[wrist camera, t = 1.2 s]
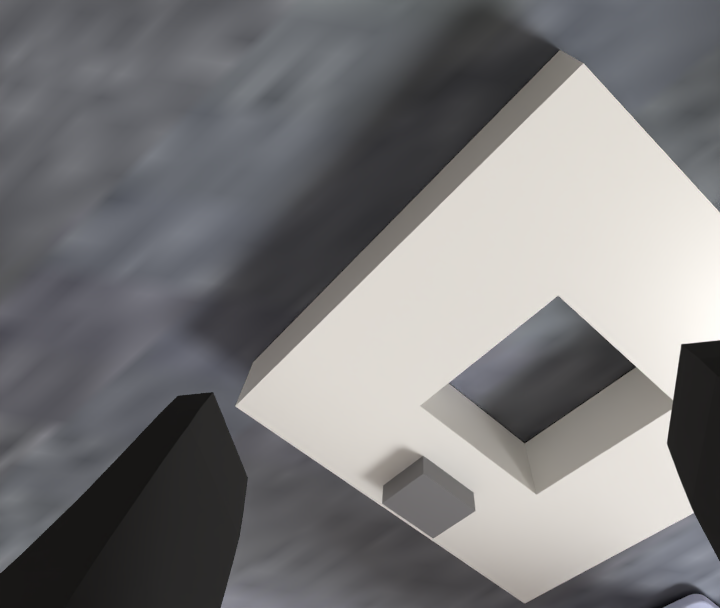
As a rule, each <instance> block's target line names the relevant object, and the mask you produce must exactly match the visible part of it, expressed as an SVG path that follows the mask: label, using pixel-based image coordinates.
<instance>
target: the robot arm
mask: <svg viewBox="0 0 720 608" xmlns="http://www.w3.org/2000/svg"><path fill="white" fill-rule="evenodd" d="M667 446H668V448H669V451H670V454H671V457H672V459H673V462H674V465H675V467H676V470H677V473H678V475H679V478H680V481H681V483H682V486H683V488H684V491H685V493H686V496H687V498H688V500H689V503H690V505H691V508H692V510H693V512H694V513H695V515H696V517H697V519H698V521H699V523H700V525H701V527H702V529H703V531H704V533H705V534H706V536H707V538H708V540H709V542H710V544H711V546H712V548H713V549H714V551H715V553H716V555H717V557H718V559H719V561H720V340H717V341H707V342H698V343H688V344H681V349H680V356H679V363H678V370H677V377H676V383H675V390H674V397H673V404H672V411H671V418H670V425H669V431H668V438H667ZM247 479H248V477H247V475H246V472H245V470H244V467H243V465H242V462H241V460H240V458H239V455H238V453H237V450H236V448H235V445H234V443H233V440H232V438H231V435H230V433H229V430H228V428H227V425H226V423H225V420H224V418H223V415H222V413H221V411H220V408H219V406H218V403H217V401H216V398H215V396H214V393H213V392H211V393H201V394H192V395H182V396H177V397H176V398H175V399H174V400H173V401H172V402H171V403H170V404H169V405H168V406H167V407H166V408H165V409H164V410H163V411H162V412H161V413H160V414H159V415H158V416H157V417H156V418H155V419H154V420H153V422H152V423H151V424H150V425H149V426H148V427H147V428H146V429H145V430H144V431H143V432H142V433H141V434H140V435H139V436H138V437H137V438H136V440H135V441H134V442H133V443H132V444H131V445H130V446H129V447H128V448H127V449H126V450H125V451H124V452H123V453H122V454H121V455H120V456H119V457H118V459H117V460H116V461H115V462H114V463H113V464H112V465H111V466H110V467H109V468H108V469H107V470H106V471H105V472H104V473H103V474H102V475H101V476H100V477H99V478H98V479H97V480H96V481H95V482H94V483H93V485H92V486H91V487H90V488H89V489H88V490H87V491H86V492H85V493H84V494H83V495H82V496H81V497H80V498H79V499H78V500H77V501H76V502H75V503H74V504H73V505H72V506H71V507H70V508H69V509H68V510H67V511H66V512H65V513H64V514H63V515H61V516H60V517H59V518H58V519H57V520H56V521H55V522H54V523H53V524H52V525H51V526H50V527H49V528H48V529H47V530H46V531H45V532H44V533H43V534H42V535H41V536H40V537H39V538H38V539H37V540H36V541H35V542H34V543H33V544H32V545H30V546H29V547H28V548H27V549H26V550H25V551H24V552H23V553H22V554H21V555H20V556H19V557H18V558H17V559H16V560H15V561H14V562H13V563H11V564H10V565H9V566H8V567H7V568H6V569H5V570H4V571H3V572H2V573H0V608H221V604H222V601H223V597H224V593H225V590H226V586H227V582H228V579H229V575H230V571H231V567H232V564H233V560H234V556H235V552H236V548H237V544H238V540H239V536H240V530H241V523H242V517H243V511H244V503H245V495H246V487H247ZM663 608H719V607H718V606H717V605H716V604H714V603H713V602H712V601H710V600H709V599H708V598H707V597H705V596H703V595H701V594H691V595H688V596H686V597H684V598H682V599H680V600H678V601H676V602H674V603H671V604H669V605H667V606H665V607H663Z"/></svg>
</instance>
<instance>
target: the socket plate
mask: <svg viewBox="0 0 720 608" xmlns="http://www.w3.org/2000/svg"><path fill="white" fill-rule="evenodd" d="M557 296H559V297H560V298H562V299H563V300H564V301H565V302H566V303H567V304H568V305H569V306H570V307H571V308H572V309H574V310H575V311H576V312H577V313H578V314H579V315H580V316H581V317H582V318H583V319H585V320H586V321H587V322H588V323H589V324H590V325H591V326H592V327H593V328H594V329H595V330H597V331H598V332H599V333H600V334H601V335H602V336H603V337H604V338H605V339H606V340H607V341H609V342H610V343H611V344H612V345H613V346H614V347H615V348H616V349H617V350H618V351H620V352H621V353H622V354H623V355H624V356H625V357H626V358H627V359H628V360H629V361H630V362H632V363H633V364H634V365H635V366H636V368H634V369H633V370H631V371H630V372H628V373H627V374H625V375H624V376H622V377H621V378H620V379H618V380H617V381H615V382H614V383H612V384H611V385H609V386H608V387H606V388H605V389H604V390H602V391H601V392H599V393H598V394H596V395H595V396H593V397H592V398H590V399H589V400H587V401H586V402H585V403H583V404H582V405H580V406H579V407H577V408H576V409H574V410H573V411H571V412H570V413H569V414H567V415H566V416H564V417H563V418H561V419H560V420H558V421H557V422H555V423H554V424H552V425H551V426H550V427H548V428H547V429H545V430H544V431H542V432H541V433H539V434H538V435H536V436H535V437H533V438H532V439H531V440H529V441H528V442H526V443H523V442H522V441H521V440H520V439H518V438H517V437H516V436H515V435H513V434H512V433H511V432H509V431H508V430H507V429H506V428H504V427H503V426H502V425H501V424H499V423H498V422H497V421H496V420H494V419H493V418H492V417H491V416H489V415H488V414H487V413H485V412H484V411H483V410H482V409H480V408H479V407H478V406H477V405H475V404H474V403H473V402H472V401H470V400H469V399H468V398H467V397H465V396H464V395H463V394H461V393H460V392H459V391H458V390H456V389H455V388H454V387H453V386H451V385H450V384H449V382H450V381H452V380H453V379H454V378H455V377H457V376H458V375H459V374H460V373H462V372H463V371H464V370H465V369H467V368H468V367H469V366H470V365H472V364H473V363H474V362H475V361H477V360H478V359H479V358H480V357H482V356H483V355H484V354H485V353H487V352H488V351H489V350H490V349H492V348H493V347H494V346H495V345H497V344H498V343H499V342H500V341H502V340H503V339H504V338H505V337H507V336H508V335H509V334H510V333H512V332H513V331H514V330H515V329H517V328H518V327H519V326H520V325H522V324H523V323H524V322H525V321H527V320H528V319H529V318H530V317H532V316H533V315H534V314H536V313H537V312H538V311H539V310H541V309H542V308H543V307H544V306H546V305H547V304H548V303H549V302H551V301H552V300H553V299H554V298H556V297H557ZM717 340H720V212H719V211H718V210H717V209H716V208H715V207H714V206H713V205H712V204H711V203H710V201H709V200H708V199H707V198H706V197H705V196H704V195H703V194H702V193H701V192H700V190H699V189H698V188H697V187H696V186H695V185H694V184H693V183H692V182H691V181H690V180H689V178H688V177H687V176H686V175H685V174H684V173H683V172H682V171H681V170H680V169H679V167H678V166H677V165H676V164H675V163H674V162H673V161H672V160H671V159H670V158H669V157H668V155H667V154H666V153H665V152H664V151H663V150H662V149H661V148H660V147H659V146H658V144H657V143H656V142H655V141H654V140H653V139H652V138H651V137H650V136H649V135H648V134H647V132H646V131H645V130H644V129H643V128H642V127H641V126H640V125H639V124H638V123H637V121H636V120H635V119H634V118H633V117H632V116H631V115H630V114H629V113H628V112H627V110H626V109H625V108H624V107H623V106H622V105H621V104H620V103H619V102H618V101H617V100H616V98H615V97H614V96H613V95H612V94H611V93H610V92H609V91H608V90H607V89H606V87H605V86H604V85H603V84H602V83H601V82H600V81H599V80H598V79H597V78H596V77H595V75H594V74H593V73H592V72H591V71H590V70H589V69H588V68H587V67H586V66H585V64H584V63H582V62H580V61H579V60H577V59H575V58H573V57H571V56H570V55H568V54H566V53H564V52H563V51H561V50H559V51H558V53H557V54H556V55H555V56H554V57H553V58H552V59H551V60H550V61H549V62H548V63H547V64H546V65H545V66H544V67H543V68H542V69H541V70H540V71H539V72H538V73H537V74H536V75H535V76H534V77H533V78H532V79H531V80H530V81H529V82H528V83H527V84H526V85H525V86H524V87H523V88H522V89H521V90H520V91H519V92H518V93H517V94H516V95H515V96H514V97H513V98H512V99H511V100H510V101H509V102H508V103H507V104H506V105H505V106H504V107H503V108H502V109H501V110H500V112H499V113H498V114H497V115H496V116H495V117H494V118H493V119H492V120H491V121H490V122H489V123H488V124H487V125H486V126H485V127H484V128H483V129H482V130H481V131H480V132H479V133H478V134H477V135H476V136H475V137H474V138H473V139H472V140H471V141H470V142H469V143H468V144H467V145H466V146H465V147H464V148H463V149H462V150H461V151H460V152H459V153H458V154H457V155H456V156H455V157H454V158H453V159H452V160H451V161H450V162H449V163H448V164H447V165H446V166H445V167H444V168H443V170H442V171H441V172H440V173H439V174H438V175H437V176H436V177H435V178H434V179H433V180H432V181H431V182H430V183H429V184H428V185H427V186H426V187H425V188H424V189H423V190H422V191H421V192H420V193H419V194H418V195H417V196H416V197H415V198H414V199H413V200H412V201H411V202H410V203H409V204H408V205H407V206H406V207H405V208H404V209H403V210H402V211H401V212H400V213H399V214H398V215H397V216H396V217H395V218H394V219H393V220H392V221H391V222H390V223H389V224H388V225H387V226H386V227H385V229H384V230H383V231H382V232H381V233H380V234H379V235H378V236H377V237H376V238H375V239H374V240H373V241H372V242H371V243H370V244H369V245H368V246H367V247H366V248H365V249H364V250H363V251H362V252H361V253H360V254H359V255H358V256H357V257H356V258H355V259H354V260H353V261H352V262H351V263H350V264H349V265H348V266H347V267H346V268H345V269H344V270H343V271H342V272H341V273H340V274H339V275H338V276H337V277H336V278H335V279H334V280H333V281H332V282H331V283H330V284H329V285H328V286H327V288H326V289H325V290H324V291H323V292H322V293H321V294H320V295H319V296H318V297H317V298H316V299H315V300H314V301H313V302H312V303H311V304H310V305H309V306H308V307H307V308H306V309H305V310H304V311H303V312H302V313H301V314H300V315H299V316H298V317H297V318H296V319H295V320H294V321H293V322H292V323H291V324H290V325H289V326H288V327H287V328H286V329H285V330H284V331H283V332H282V333H281V334H280V335H279V336H278V337H277V338H276V339H275V340H274V341H273V342H272V343H271V344H270V346H269V347H268V348H267V349H266V350H265V351H264V352H263V353H262V354H261V355H260V356H259V357H258V358H257V359H256V360H255V361H254V362H253V364H252V367H251V369H250V371H249V374H248V376H247V379H246V381H245V384H244V386H243V388H242V391H241V393H240V396H239V398H238V401H237V403H236V405H235V406H236V407H237V408H239V409H240V410H241V411H243V412H244V413H246V414H247V415H249V416H250V417H252V418H253V419H255V420H256V421H258V422H259V423H261V424H262V425H263V426H265V427H266V428H268V429H269V430H271V431H272V432H274V433H275V434H277V435H278V436H280V437H281V438H283V439H284V440H285V441H287V442H288V443H290V444H291V445H293V446H294V447H296V448H297V449H299V450H300V451H302V452H303V453H305V454H306V455H307V456H309V457H310V458H312V459H313V460H315V461H316V462H318V463H319V464H321V465H322V466H324V467H325V468H327V469H328V470H329V471H331V472H332V473H334V474H335V475H337V476H338V477H340V478H341V479H343V480H344V481H346V482H347V483H349V484H350V485H351V486H353V487H354V488H356V489H357V490H359V491H360V492H362V493H363V494H365V495H366V496H368V497H369V498H371V499H372V500H373V501H375V502H376V503H378V504H379V505H381V506H382V507H384V508H385V509H387V510H388V511H390V512H391V513H393V514H394V515H395V516H397V517H398V518H400V519H401V520H403V521H404V522H406V523H407V524H409V525H410V526H412V527H413V528H415V529H416V530H417V531H419V532H420V533H422V534H423V535H425V536H426V537H428V538H429V539H431V540H432V541H434V542H435V543H437V544H438V545H439V546H441V547H442V548H444V549H445V550H447V551H448V552H450V553H451V554H453V555H454V556H456V557H457V558H459V559H460V560H461V561H463V562H464V563H466V564H467V565H469V566H470V567H472V568H473V569H475V570H476V571H478V572H479V573H480V574H482V575H483V576H485V577H486V578H488V579H489V580H491V581H492V582H494V583H495V584H497V585H498V586H500V587H501V588H502V589H504V590H505V591H507V592H508V593H510V594H511V595H513V596H514V597H516V598H517V599H519V600H520V601H522V602H523V603H524V604H525V603H527V602H528V601H530V600H532V599H534V598H536V597H538V596H540V595H542V594H543V593H545V592H547V591H549V590H551V589H553V588H555V587H556V586H558V585H560V584H562V583H564V582H566V581H568V580H569V579H571V578H573V577H575V576H577V575H579V574H581V573H582V572H584V571H586V570H588V569H590V568H592V567H594V566H596V565H597V564H599V563H601V562H603V561H605V560H607V559H609V558H610V557H612V556H614V555H616V554H618V553H620V552H622V551H623V550H625V549H627V548H629V547H631V546H633V545H635V544H637V543H638V542H640V541H642V540H644V539H646V538H648V537H650V536H651V535H653V534H655V533H657V532H659V531H661V530H663V529H664V528H666V527H668V526H670V525H672V524H674V523H676V522H678V521H679V520H681V519H683V518H685V517H687V516H689V515H691V514H692V513H694V512H693V510H692V508H691V505H690V503H689V500H688V498H687V496H686V493H685V491H684V488H683V486H682V483H681V481H680V478H679V475H678V473H677V470H676V467H675V465H674V462H673V459H672V457H671V454H670V451H669V448H668V446H667V438H668V431H669V425H670V418H671V411H672V404H673V397H674V390H675V383H676V377H677V370H678V363H679V356H680V349H681V344H688V343H698V342H707V341H717Z"/></svg>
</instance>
